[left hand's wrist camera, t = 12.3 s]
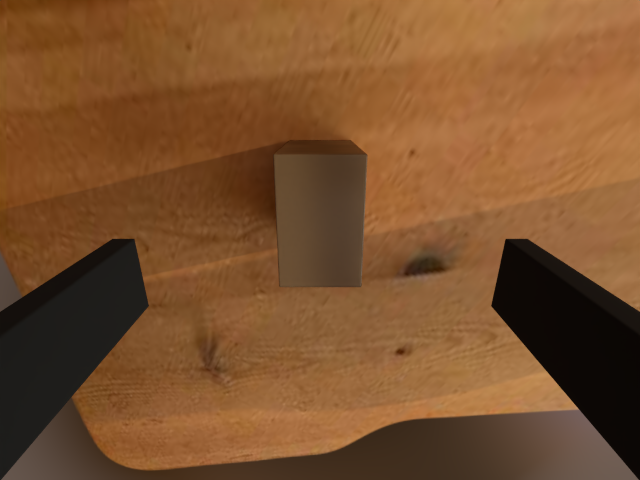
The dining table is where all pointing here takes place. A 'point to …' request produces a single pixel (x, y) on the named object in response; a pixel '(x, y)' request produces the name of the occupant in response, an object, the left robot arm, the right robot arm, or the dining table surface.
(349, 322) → the dining table surface
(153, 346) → the dining table surface
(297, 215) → the brick
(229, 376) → the dining table surface
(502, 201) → the dining table surface
